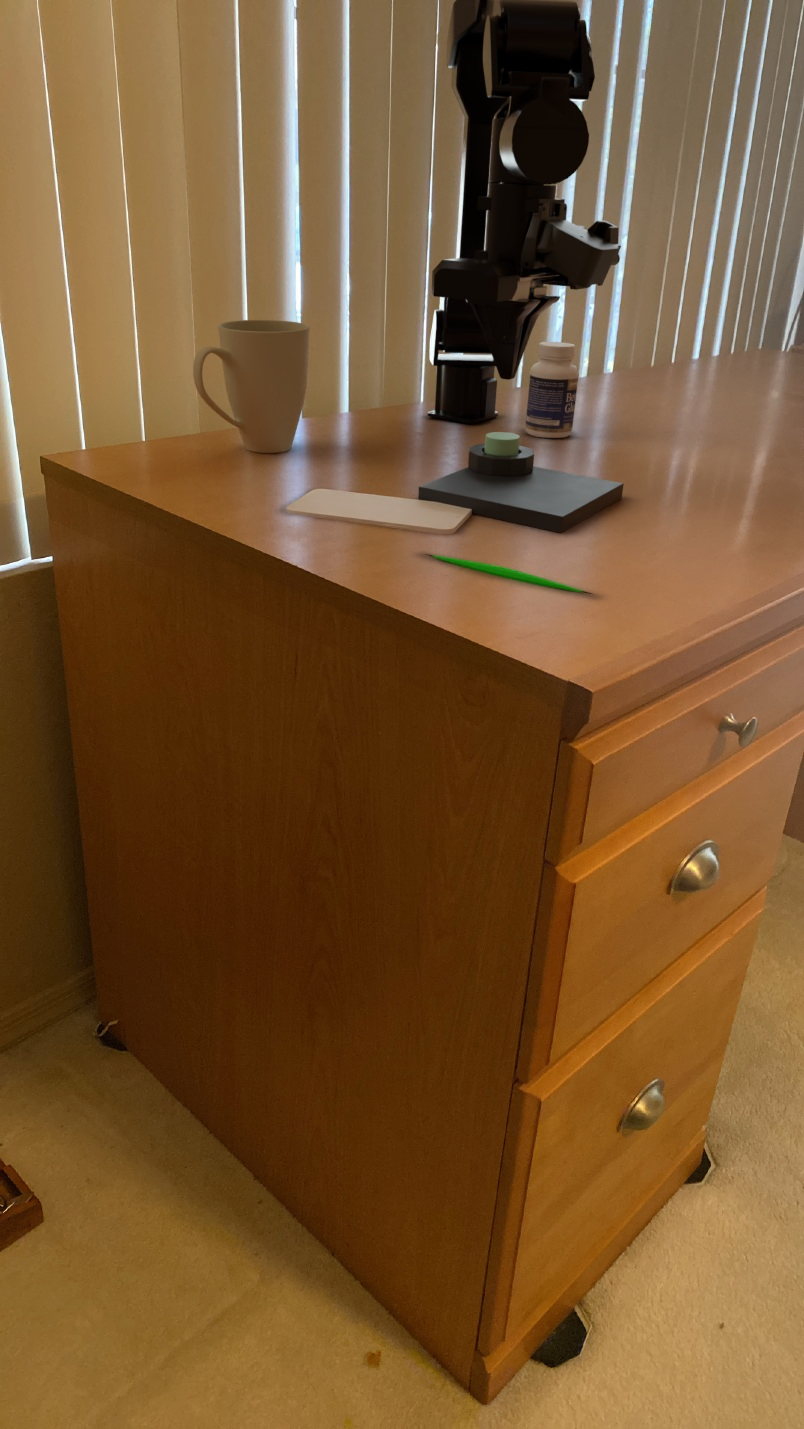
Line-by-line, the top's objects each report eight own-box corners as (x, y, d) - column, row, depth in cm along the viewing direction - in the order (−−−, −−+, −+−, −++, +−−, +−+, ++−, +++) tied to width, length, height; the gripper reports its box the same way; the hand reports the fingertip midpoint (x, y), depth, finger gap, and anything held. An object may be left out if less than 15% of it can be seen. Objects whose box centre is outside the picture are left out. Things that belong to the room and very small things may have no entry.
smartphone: (315, 487, 89) (475, 506, 85) (316, 495, 90) (474, 514, 85) (282, 509, 83) (451, 530, 79) (282, 517, 83) (451, 539, 79)
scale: (412, 500, 87) (414, 467, 86) (486, 470, 97) (488, 439, 96) (561, 533, 80) (565, 497, 79) (624, 496, 90) (628, 464, 89)
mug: (234, 434, 107) (228, 317, 102) (321, 441, 106) (320, 322, 100) (195, 457, 98) (186, 330, 92) (290, 466, 96) (287, 336, 91)
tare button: (478, 454, 92) (479, 436, 91) (494, 448, 94) (495, 430, 93) (508, 460, 90) (509, 441, 90) (524, 453, 93) (525, 435, 92)
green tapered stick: (426, 557, 75) (426, 547, 75) (597, 598, 69) (598, 587, 68) (420, 560, 74) (420, 550, 74) (592, 602, 68) (593, 591, 68)
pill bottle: (570, 440, 110) (580, 348, 105) (522, 436, 111) (530, 345, 106) (572, 430, 114) (582, 341, 110) (527, 426, 115) (534, 339, 111)
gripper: (562, 185, 71) (541, 406, 78) (655, 188, 85) (629, 376, 92) (432, 180, 76) (423, 388, 84) (539, 184, 90) (524, 362, 97)
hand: (507, 378), depth 89 cm, fingers closed
